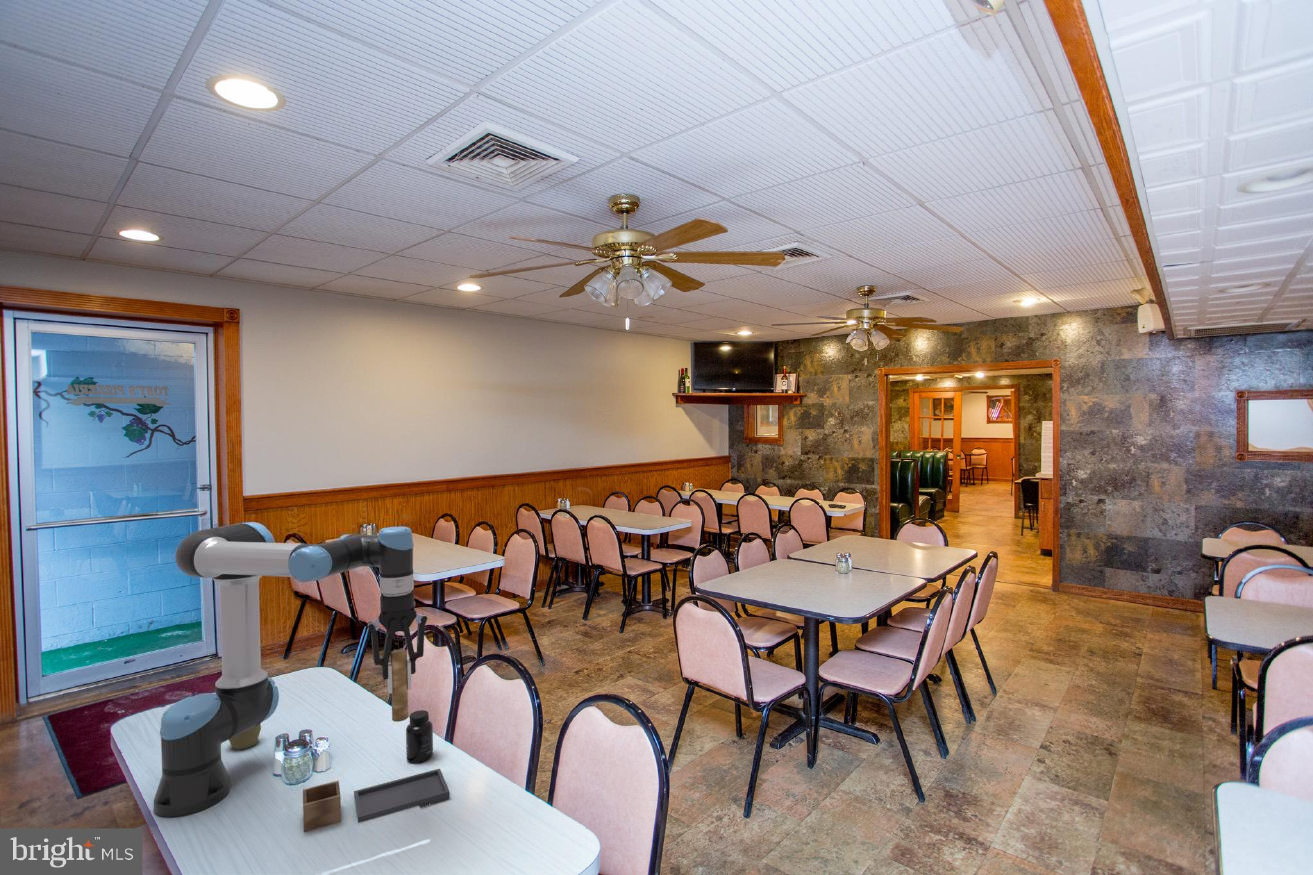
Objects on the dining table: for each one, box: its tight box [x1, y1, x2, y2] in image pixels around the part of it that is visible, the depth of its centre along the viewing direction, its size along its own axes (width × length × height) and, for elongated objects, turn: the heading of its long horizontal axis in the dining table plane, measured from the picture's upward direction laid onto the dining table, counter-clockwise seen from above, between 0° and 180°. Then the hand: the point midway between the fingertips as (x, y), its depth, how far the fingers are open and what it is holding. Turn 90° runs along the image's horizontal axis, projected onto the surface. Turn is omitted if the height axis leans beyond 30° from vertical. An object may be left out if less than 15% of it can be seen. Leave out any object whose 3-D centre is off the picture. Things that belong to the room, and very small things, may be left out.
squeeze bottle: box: [228, 723, 262, 750], centre depth 182 cm, size 8×8×18 cm
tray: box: [353, 768, 451, 823], centre depth 154 cm, size 20×12×2 cm, turn 119°
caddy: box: [302, 780, 342, 833], centre depth 146 cm, size 7×7×6 cm
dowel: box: [390, 649, 409, 723], centre depth 154 cm, size 4×4×16 cm
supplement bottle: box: [405, 709, 434, 764], centre depth 173 cm, size 7×7×12 cm
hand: (399, 689), depth 154 cm, fingers closed on dowel, 3 cm apart
